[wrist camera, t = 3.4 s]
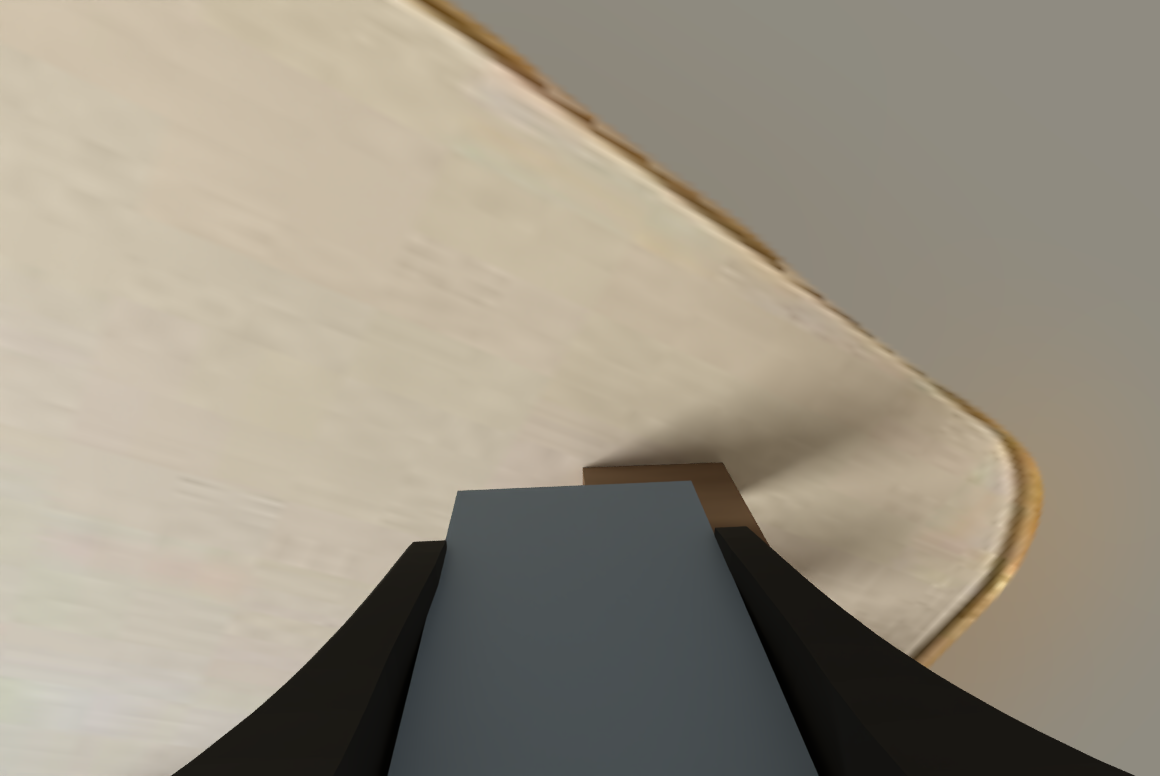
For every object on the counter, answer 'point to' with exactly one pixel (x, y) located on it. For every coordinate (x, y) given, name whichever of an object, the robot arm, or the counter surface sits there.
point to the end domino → (591, 645)
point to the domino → (706, 478)
